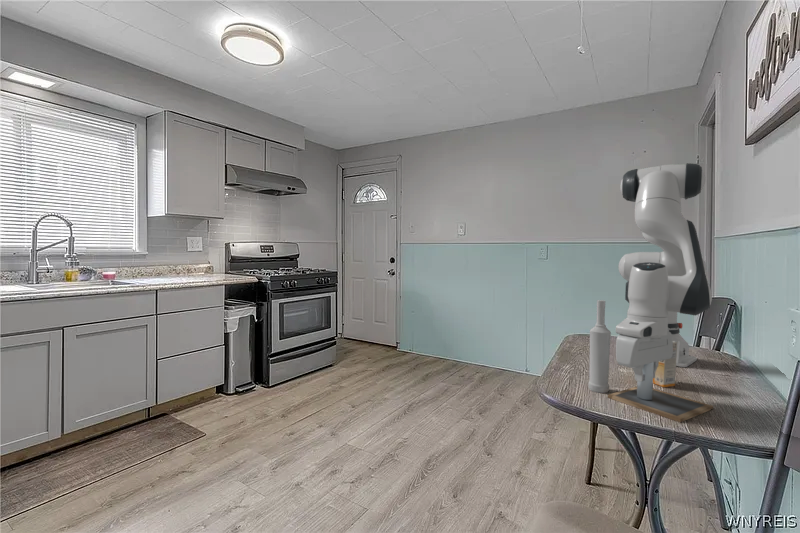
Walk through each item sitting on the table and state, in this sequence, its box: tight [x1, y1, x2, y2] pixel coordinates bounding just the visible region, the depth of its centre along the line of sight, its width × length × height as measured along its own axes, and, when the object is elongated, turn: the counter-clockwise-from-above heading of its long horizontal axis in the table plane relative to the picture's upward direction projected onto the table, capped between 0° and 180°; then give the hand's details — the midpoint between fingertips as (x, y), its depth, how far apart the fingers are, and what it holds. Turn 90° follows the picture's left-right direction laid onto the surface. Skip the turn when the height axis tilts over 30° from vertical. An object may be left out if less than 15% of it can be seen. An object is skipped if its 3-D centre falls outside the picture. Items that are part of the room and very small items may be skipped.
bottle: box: [587, 299, 612, 394], centre depth 107 cm, size 5×5×25 cm
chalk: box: [636, 362, 654, 400], centre depth 100 cm, size 3×3×12 cm
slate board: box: [607, 385, 714, 423], centre depth 99 cm, size 16×17×1 cm
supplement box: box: [653, 342, 677, 388], centre depth 115 cm, size 8×5×13 cm, turn 18°
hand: (644, 379), depth 100 cm, fingers closed on chalk, 3 cm apart
